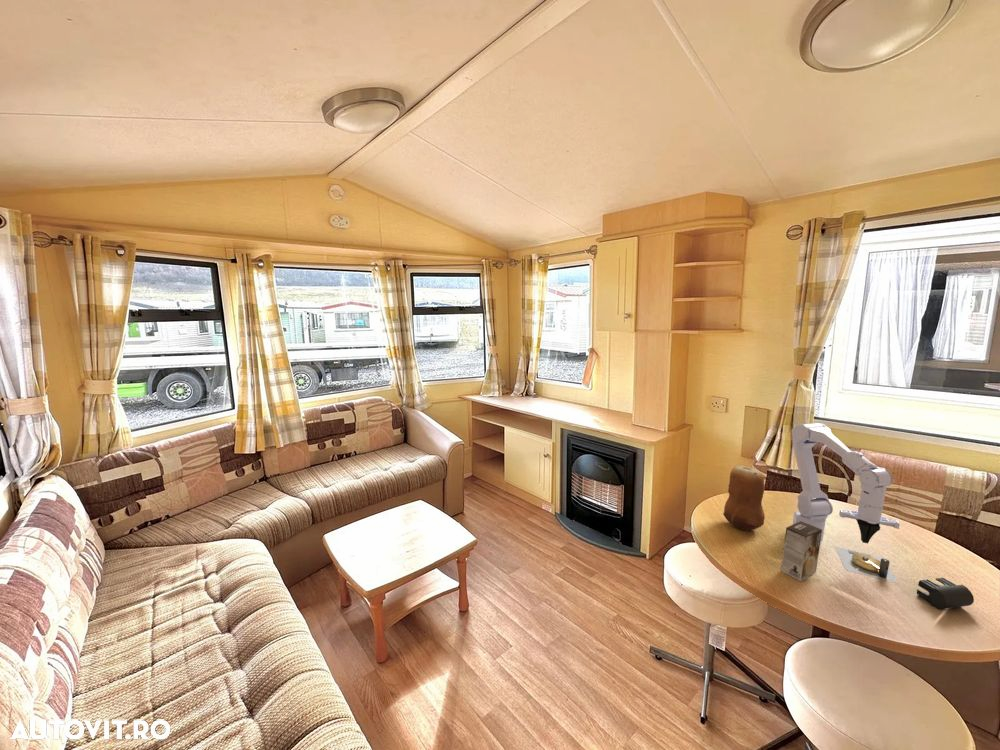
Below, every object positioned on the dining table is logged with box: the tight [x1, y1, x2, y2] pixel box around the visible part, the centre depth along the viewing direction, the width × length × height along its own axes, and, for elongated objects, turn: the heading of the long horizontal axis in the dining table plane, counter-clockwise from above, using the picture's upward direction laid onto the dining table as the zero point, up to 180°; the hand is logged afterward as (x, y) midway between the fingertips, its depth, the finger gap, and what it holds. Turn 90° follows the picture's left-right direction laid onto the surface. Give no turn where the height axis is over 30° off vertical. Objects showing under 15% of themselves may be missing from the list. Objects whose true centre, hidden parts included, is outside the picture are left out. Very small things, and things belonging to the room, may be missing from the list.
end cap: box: [916, 577, 975, 610], centre depth 117 cm, size 10×7×7 cm
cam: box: [852, 554, 890, 578], centre depth 133 cm, size 10×8×6 cm
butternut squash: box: [722, 465, 766, 531], centre depth 157 cm, size 14×13×25 cm
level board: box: [835, 546, 899, 584], centre depth 135 cm, size 13×15×1 cm
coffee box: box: [780, 521, 822, 582], centre depth 131 cm, size 9×6×16 cm
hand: (864, 541), depth 133 cm, fingers closed
